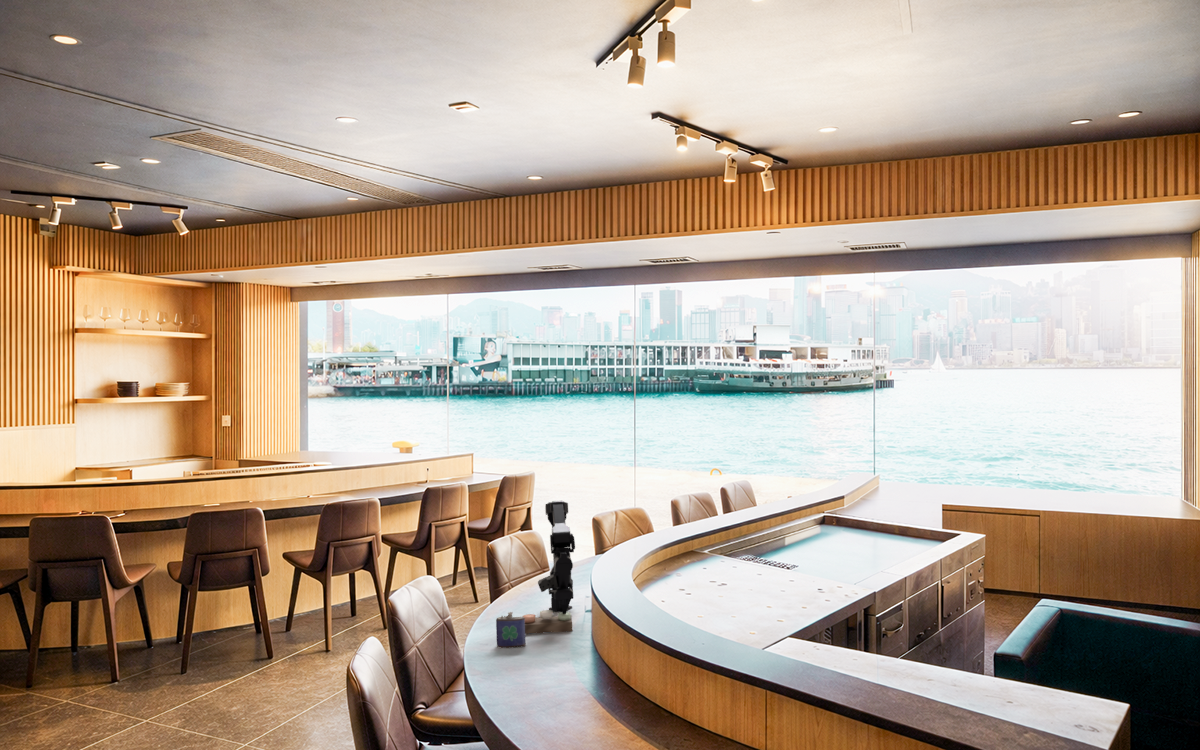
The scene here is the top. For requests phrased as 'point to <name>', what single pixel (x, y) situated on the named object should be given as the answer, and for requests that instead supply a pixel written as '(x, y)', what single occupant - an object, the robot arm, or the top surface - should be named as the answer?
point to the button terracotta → (529, 618)
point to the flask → (510, 631)
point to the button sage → (564, 616)
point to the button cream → (546, 614)
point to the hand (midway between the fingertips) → (564, 613)
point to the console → (548, 625)
